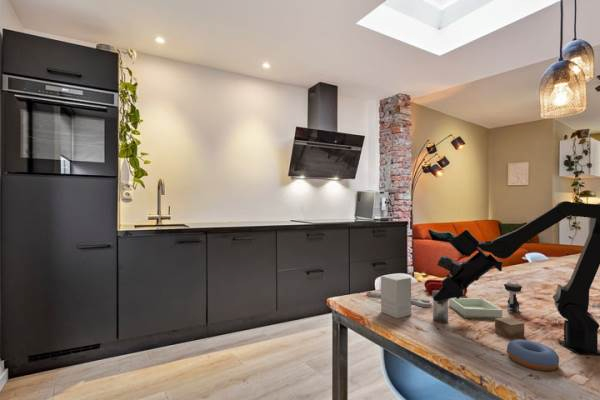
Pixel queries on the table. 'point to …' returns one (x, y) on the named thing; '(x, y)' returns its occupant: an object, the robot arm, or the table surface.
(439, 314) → the pepper shaker
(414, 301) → the adjustable wrench
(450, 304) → the bin
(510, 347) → the doughnut
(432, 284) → the mechanical linkage
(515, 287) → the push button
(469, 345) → the table surface
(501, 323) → the walnut block
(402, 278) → the supplement box
